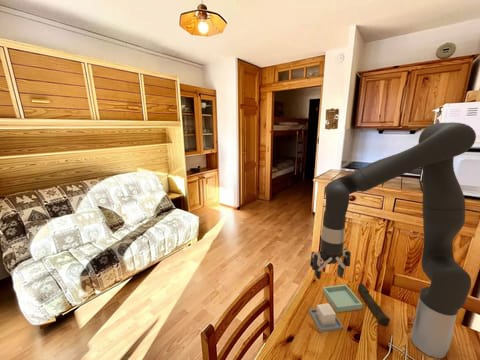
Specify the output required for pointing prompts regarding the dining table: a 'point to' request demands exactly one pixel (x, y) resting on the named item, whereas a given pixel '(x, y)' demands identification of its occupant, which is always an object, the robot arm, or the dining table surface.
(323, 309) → the beige block
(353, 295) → the bin
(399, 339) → the dining table surface
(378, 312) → the hand tool
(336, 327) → the bin
